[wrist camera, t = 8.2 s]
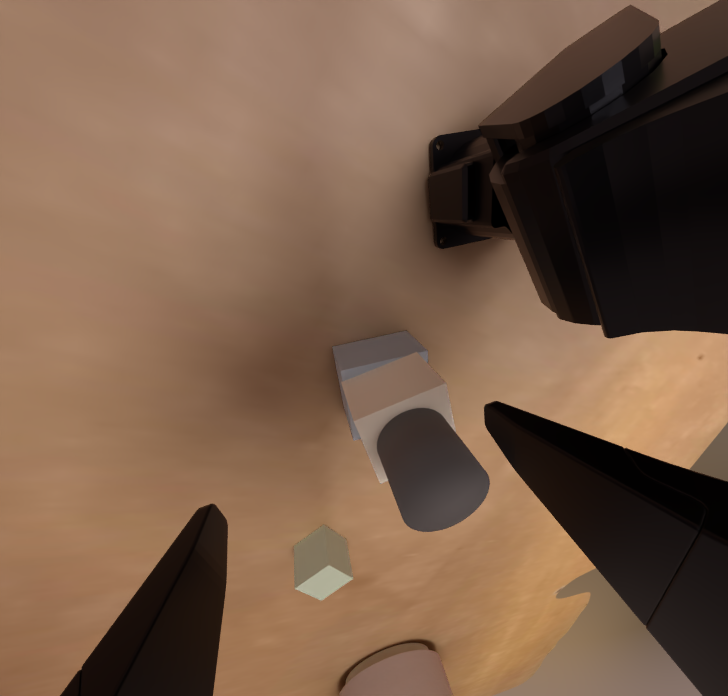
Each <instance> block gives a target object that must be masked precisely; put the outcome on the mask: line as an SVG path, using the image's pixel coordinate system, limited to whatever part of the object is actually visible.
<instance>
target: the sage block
mask: <svg viewBox="0 0 728 696" xmlns="http://www.w3.org/2000/svg"><path fill="white" fill-rule="evenodd" d="M352 579H353V573H352V568H351V563H350V557H349V552H348V546H347V541H346V538H344V537H343V536H341V535H339V534H338V533H336V532H335V531H333V530H332V529H330V528H329V527H327V526H325V525H322V526H321V527H320V528H318V529H317V530H315V531H314V532H313V533H311V534H310V535H308V536H307V537H306V538H304V539H303V540H301V541H300V542H298V543H297V544H296V545H294V580H295V589H296V590H299V591H301V592H303V593H305V594H308V595H310V596H312V597H315V598H317V599H319V600H323V599H324V598H326V597H327V596H329V595H330V594H332V593H333V592H335V591H336V590H337V589H339V588H340V587H342V586H343V585H345V584H346V583H348V582H349V581H351V580H352Z"/></svg>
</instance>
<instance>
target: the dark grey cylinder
mask: <svg viewBox="0 0 728 696" xmlns="http://www.w3.org/2000/svg"><path fill="white" fill-rule="evenodd" d="M377 452H378V455H379V458H380V460H381V463H382V466H383V468H384V471H385V473H386V476H387V479H388V481H389V484H390V487H391V489H392V492H393V494H394V497H395V500H396V502H397V505H398V508H399V510H400V513H401V515H402V518H403V520H404V522H405V523H406V525H407V526H409V527H410V528H412V529H414V530H417V531H422V532H432V531H438V530H442V529H446V528H449V527H451V526H453V525H455V524H457V523H459V522H461V521H463V520H464V519H466V518H467V517H468V516H470V515H471V514H472V513H473V512H474V511H475V510H476V509H477V508H478V507H479V506H480V505H481V504H482V502H483V501H484V499H485V497H486V495H487V493H488V490H489V485H490V481H489V476H488V474H487V472H486V471H485V470H484V469H483V467H482V466H481V465H480V463H479V462H478V461H477V460H476V458H475V457H474V456H473V454H472V453H471V452H470V450H469V449H468V448H467V447H466V445H465V444H464V443H463V441H462V440H461V439H460V438H459V436H458V435H457V434H456V432H455V431H454V430H453V429H452V427H451V426H450V425H449V423H448V422H447V421H446V419H445V418H444V417H443V416H442V415H441V414H440V413H439V412H437V411H435V410H433V409H429V408H415V409H411V410H408V411H405V412H403V413H401V414H399V415H397V416H395V417H394V418H393V419H391V420H390V421H389V422H388V423H387V424H386V425H385V427H384V428H383V429H382V431H381V433H380V435H379V437H378V440H377Z"/></svg>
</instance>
